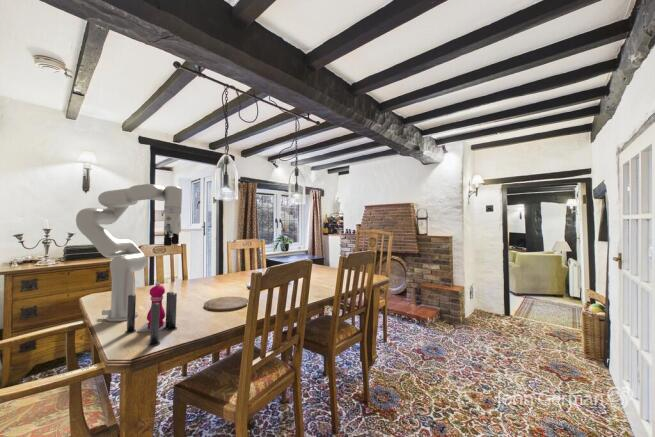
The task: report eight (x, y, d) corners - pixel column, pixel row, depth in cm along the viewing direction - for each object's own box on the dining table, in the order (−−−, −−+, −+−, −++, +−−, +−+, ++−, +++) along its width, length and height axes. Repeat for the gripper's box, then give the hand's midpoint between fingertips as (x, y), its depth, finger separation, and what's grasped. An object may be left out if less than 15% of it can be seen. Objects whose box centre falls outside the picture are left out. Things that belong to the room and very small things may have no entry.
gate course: (102, 350, 102) (104, 307, 102) (130, 328, 123) (131, 292, 124) (163, 345, 107) (164, 304, 107) (179, 325, 128) (180, 291, 128)
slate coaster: (136, 332, 119) (136, 331, 119) (146, 324, 128) (146, 323, 128) (162, 330, 121) (162, 329, 121) (169, 322, 131) (169, 321, 131)
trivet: (234, 313, 147) (234, 310, 147) (194, 309, 152) (194, 306, 152) (255, 301, 171) (255, 298, 171) (220, 298, 176) (220, 295, 176)
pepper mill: (142, 328, 121) (144, 283, 122) (152, 322, 128) (154, 280, 129) (159, 328, 122) (161, 284, 122) (167, 323, 129) (169, 280, 129)
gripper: (174, 210, 129) (173, 246, 128) (186, 211, 146) (185, 243, 145) (157, 209, 127) (155, 246, 127) (171, 211, 144) (169, 243, 144)
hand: (171, 244), depth 136 cm, fingers open, 9 cm apart
